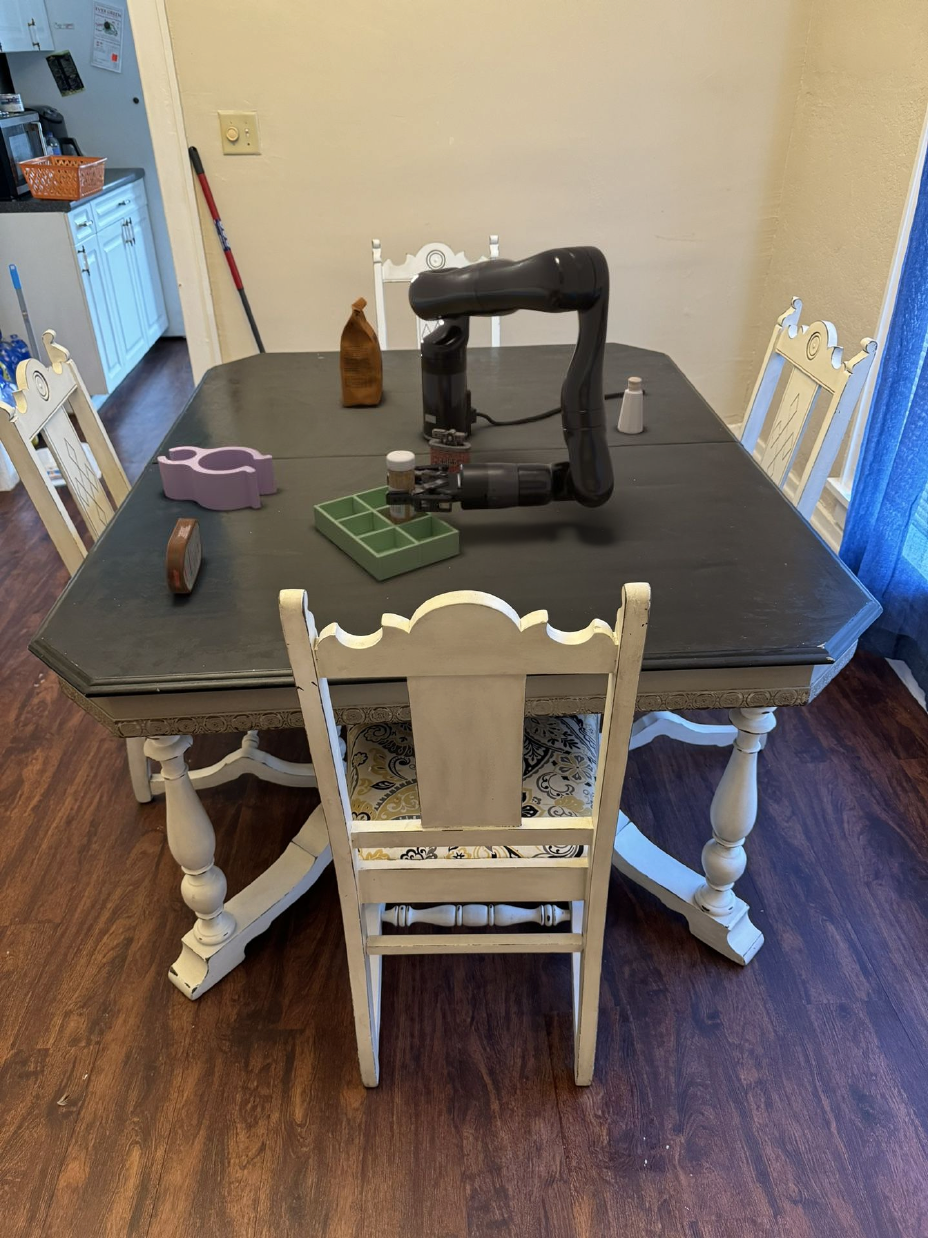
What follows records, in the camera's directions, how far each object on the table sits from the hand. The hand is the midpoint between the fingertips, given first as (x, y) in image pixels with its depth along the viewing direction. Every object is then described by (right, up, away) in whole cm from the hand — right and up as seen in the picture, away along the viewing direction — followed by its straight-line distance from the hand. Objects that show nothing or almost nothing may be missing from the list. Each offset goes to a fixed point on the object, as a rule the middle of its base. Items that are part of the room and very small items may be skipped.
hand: (386, 488), depth 141 cm
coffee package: (-11, +30, +62) cm, 69 cm away
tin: (-30, -15, -7) cm, 34 cm away
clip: (-33, +2, +19) cm, 38 cm away
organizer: (-1, -8, +3) cm, 9 cm away
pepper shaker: (+48, +19, +44) cm, 68 cm away
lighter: (+10, +5, +23) cm, 25 cm away
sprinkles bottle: (+3, -6, +4) cm, 8 cm away
